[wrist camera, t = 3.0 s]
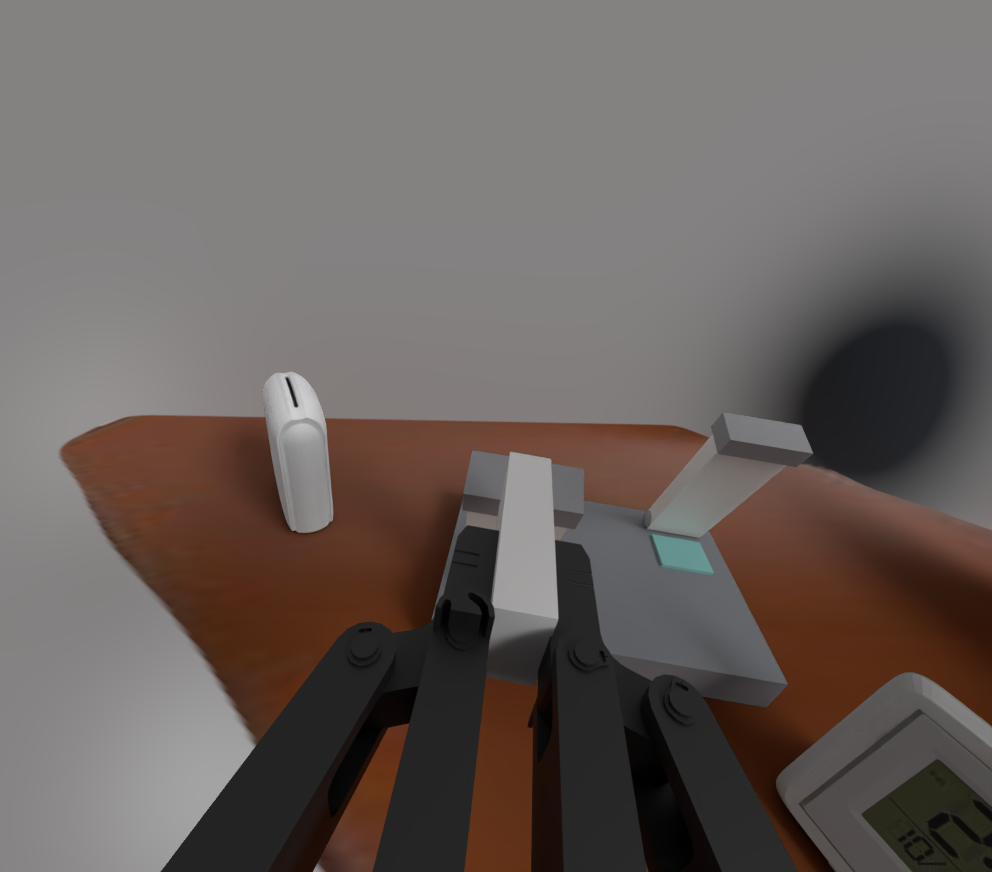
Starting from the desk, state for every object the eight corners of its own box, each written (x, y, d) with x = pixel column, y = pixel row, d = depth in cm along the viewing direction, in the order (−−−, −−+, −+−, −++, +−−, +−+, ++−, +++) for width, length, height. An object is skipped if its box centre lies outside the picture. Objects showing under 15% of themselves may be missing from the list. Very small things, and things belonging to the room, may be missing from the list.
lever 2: (700, 543, 38) (813, 453, 26) (643, 533, 38) (730, 439, 26) (696, 520, 40) (801, 425, 28) (641, 510, 40) (723, 412, 28)
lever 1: (530, 605, 30) (583, 514, 18) (456, 593, 30) (462, 493, 18) (532, 573, 31) (584, 468, 19) (463, 561, 31) (472, 450, 19)
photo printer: (273, 473, 42) (254, 361, 36) (317, 465, 44) (306, 358, 38) (287, 541, 35) (266, 415, 29) (339, 527, 37) (330, 408, 31)
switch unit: (766, 707, 28) (790, 682, 27) (428, 648, 29) (431, 619, 27) (692, 542, 42) (704, 518, 41) (464, 503, 42) (467, 478, 41)
